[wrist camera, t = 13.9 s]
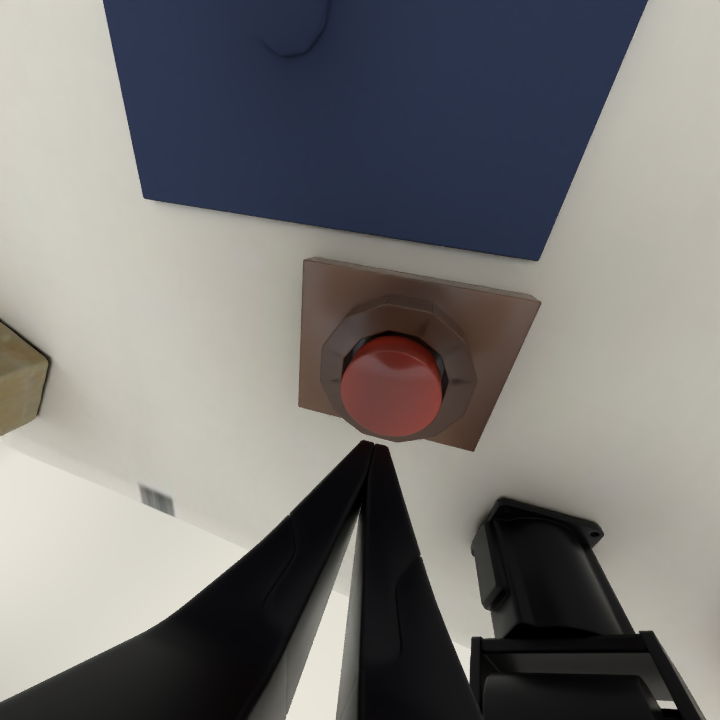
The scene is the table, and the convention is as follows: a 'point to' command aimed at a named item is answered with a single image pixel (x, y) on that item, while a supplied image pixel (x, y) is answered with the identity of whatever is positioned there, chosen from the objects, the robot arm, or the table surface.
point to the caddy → (19, 380)
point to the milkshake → (282, 22)
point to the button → (392, 386)
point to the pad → (374, 113)
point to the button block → (419, 323)
